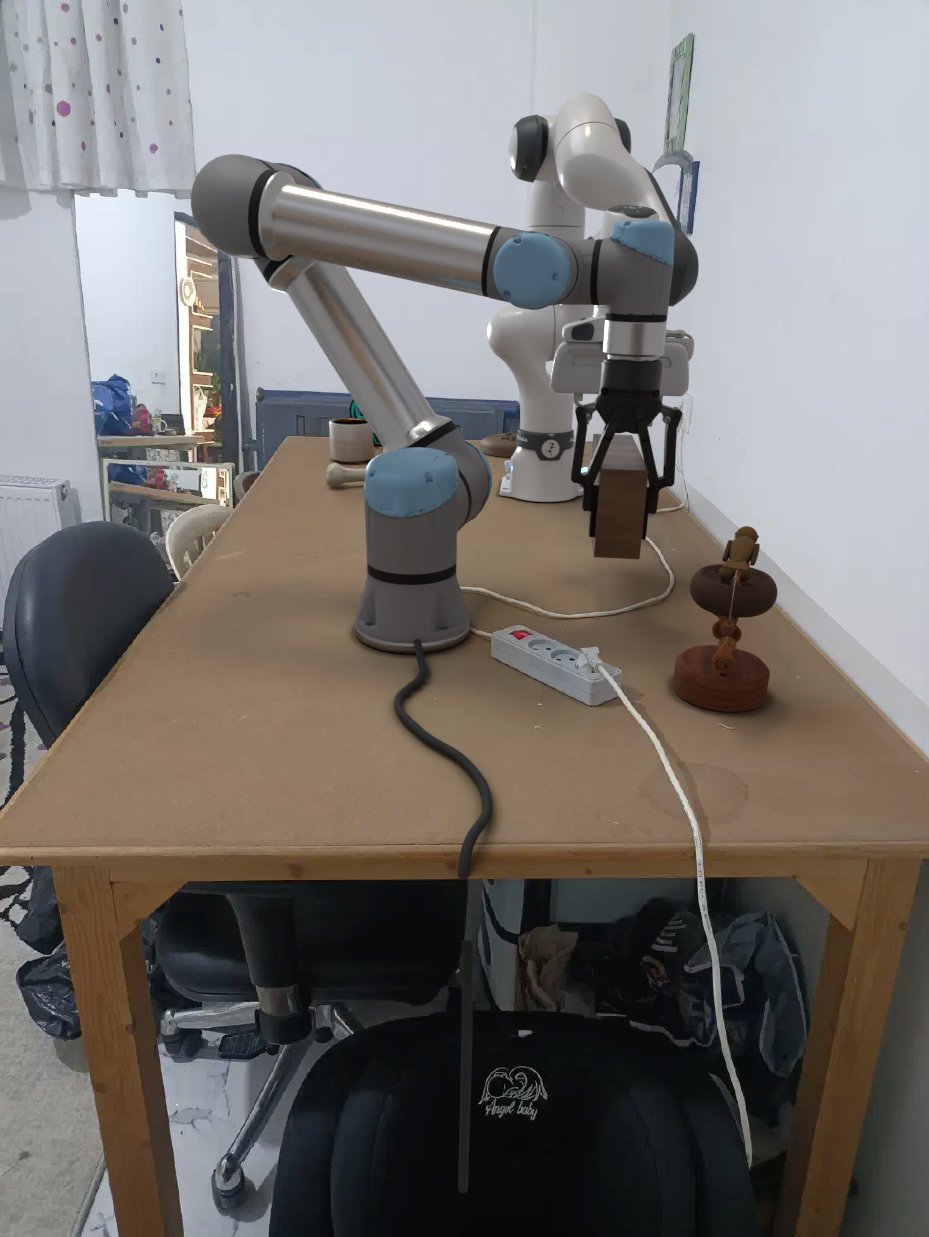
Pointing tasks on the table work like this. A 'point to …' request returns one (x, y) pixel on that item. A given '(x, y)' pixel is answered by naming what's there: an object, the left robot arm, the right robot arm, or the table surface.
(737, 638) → the music box
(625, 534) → the box
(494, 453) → the brown flat oval slab
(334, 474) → the dog toy
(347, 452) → the planter
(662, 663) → the table surface
